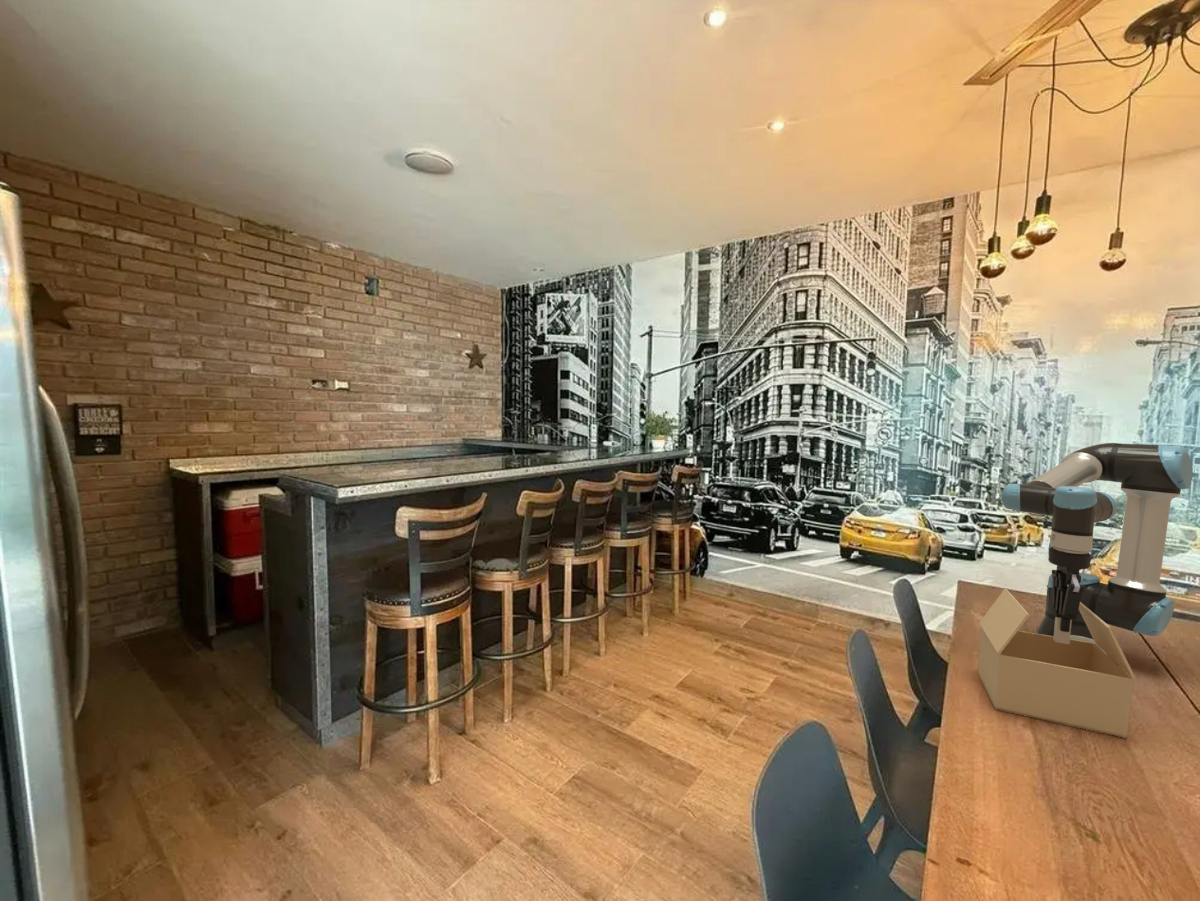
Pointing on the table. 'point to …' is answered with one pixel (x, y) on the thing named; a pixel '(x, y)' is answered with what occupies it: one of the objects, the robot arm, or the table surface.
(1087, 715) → the carton
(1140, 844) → the table surface
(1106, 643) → the near flap
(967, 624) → the table surface
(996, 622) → the far flap
